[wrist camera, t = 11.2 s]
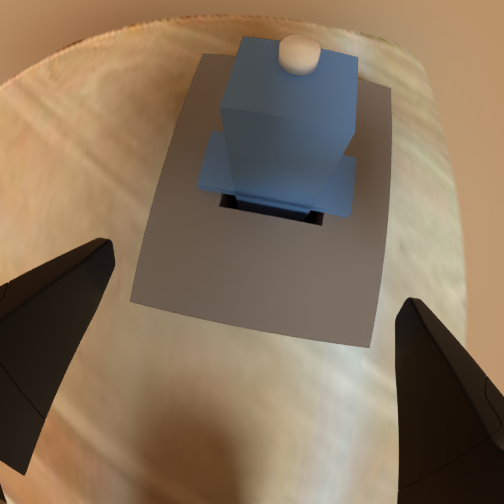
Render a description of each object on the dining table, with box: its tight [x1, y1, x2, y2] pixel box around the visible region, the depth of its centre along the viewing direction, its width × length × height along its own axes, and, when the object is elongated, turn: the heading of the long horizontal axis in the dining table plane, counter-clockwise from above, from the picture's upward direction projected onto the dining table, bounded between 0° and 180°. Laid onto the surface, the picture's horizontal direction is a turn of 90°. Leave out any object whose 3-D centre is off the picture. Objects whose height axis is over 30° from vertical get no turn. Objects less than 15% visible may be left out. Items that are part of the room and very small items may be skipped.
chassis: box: [130, 54, 392, 348], centre depth 21 cm, size 18×14×4 cm
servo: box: [197, 35, 358, 222], centre depth 16 cm, size 4×9×14 cm, turn 79°
